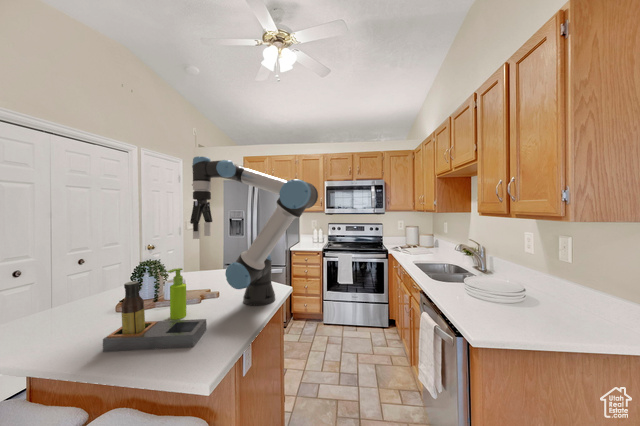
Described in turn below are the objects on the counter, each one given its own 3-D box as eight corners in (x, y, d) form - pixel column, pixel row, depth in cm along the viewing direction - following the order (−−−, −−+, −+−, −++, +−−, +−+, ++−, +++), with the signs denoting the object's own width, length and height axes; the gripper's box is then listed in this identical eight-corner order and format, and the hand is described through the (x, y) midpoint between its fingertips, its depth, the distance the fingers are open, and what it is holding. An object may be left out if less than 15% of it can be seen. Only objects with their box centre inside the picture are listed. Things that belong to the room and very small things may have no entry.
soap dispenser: (164, 318, 104) (164, 269, 103) (180, 312, 110) (180, 266, 110) (173, 321, 101) (173, 271, 101) (189, 315, 107) (189, 267, 107)
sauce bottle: (144, 335, 90) (143, 278, 90) (146, 341, 85) (145, 282, 85) (121, 340, 86) (120, 282, 86) (122, 348, 81) (121, 286, 81)
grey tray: (206, 329, 94) (206, 318, 94) (193, 347, 82) (193, 333, 82) (128, 333, 91) (128, 321, 91) (102, 351, 79) (102, 338, 79)
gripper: (203, 193, 130) (203, 234, 130) (181, 188, 105) (181, 240, 105) (218, 193, 130) (218, 234, 130) (200, 188, 105) (200, 240, 106)
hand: (202, 237), depth 118 cm, fingers open, 13 cm apart
